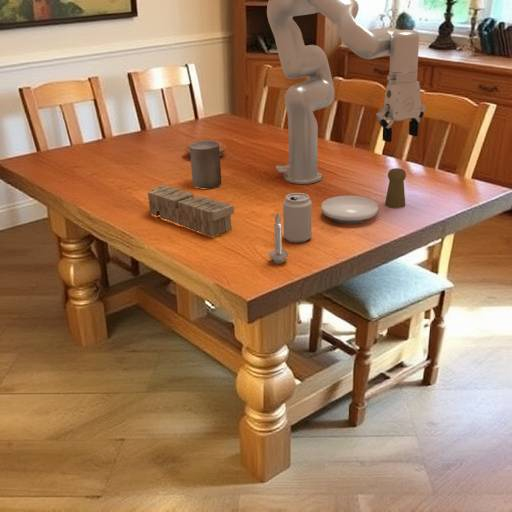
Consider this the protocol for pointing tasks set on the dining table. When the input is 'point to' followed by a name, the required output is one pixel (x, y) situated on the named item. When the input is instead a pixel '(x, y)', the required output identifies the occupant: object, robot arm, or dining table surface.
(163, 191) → the block tower
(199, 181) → the pillar candle
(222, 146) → the pie
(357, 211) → the grey plate
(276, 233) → the screw
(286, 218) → the can
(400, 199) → the cork
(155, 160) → the dining table surface
